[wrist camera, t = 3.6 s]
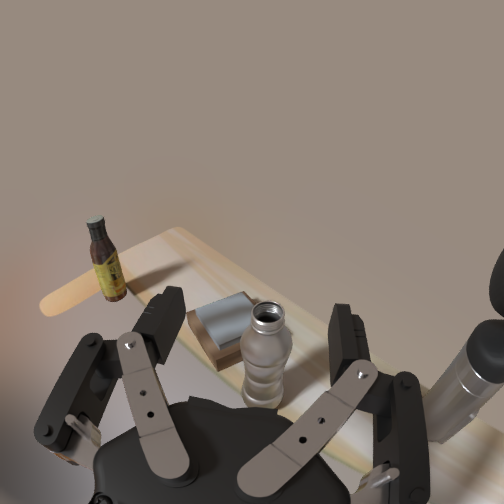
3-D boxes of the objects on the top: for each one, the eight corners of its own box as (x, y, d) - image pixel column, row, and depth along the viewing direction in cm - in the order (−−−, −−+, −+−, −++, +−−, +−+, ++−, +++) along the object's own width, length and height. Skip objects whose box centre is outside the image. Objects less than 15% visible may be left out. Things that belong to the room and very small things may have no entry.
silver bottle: (235, 409, 38) (227, 326, 28) (250, 377, 43) (250, 286, 33) (275, 421, 36) (289, 341, 26) (287, 387, 42) (303, 298, 31)
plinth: (279, 342, 50) (281, 324, 48) (217, 371, 44) (215, 354, 42) (244, 303, 60) (243, 285, 57) (188, 324, 54) (185, 306, 51)
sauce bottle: (124, 303, 58) (100, 225, 48) (101, 303, 58) (75, 227, 47) (131, 286, 64) (112, 211, 53) (109, 286, 63) (88, 214, 53)
